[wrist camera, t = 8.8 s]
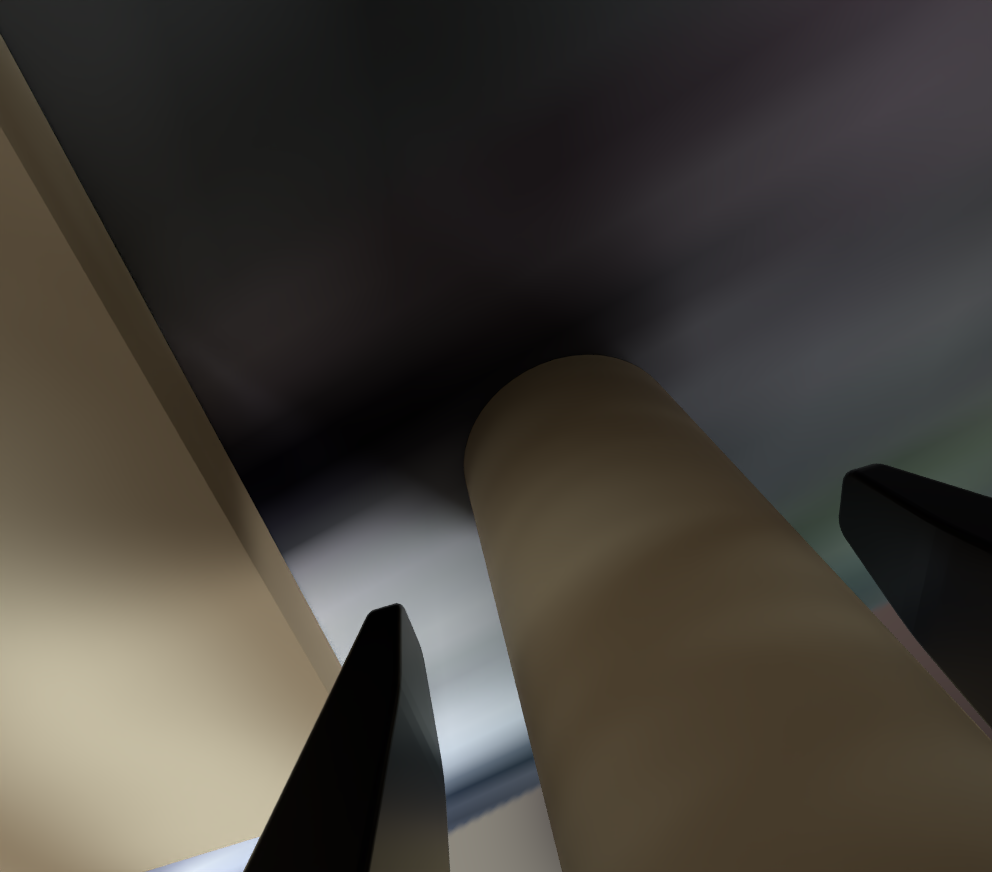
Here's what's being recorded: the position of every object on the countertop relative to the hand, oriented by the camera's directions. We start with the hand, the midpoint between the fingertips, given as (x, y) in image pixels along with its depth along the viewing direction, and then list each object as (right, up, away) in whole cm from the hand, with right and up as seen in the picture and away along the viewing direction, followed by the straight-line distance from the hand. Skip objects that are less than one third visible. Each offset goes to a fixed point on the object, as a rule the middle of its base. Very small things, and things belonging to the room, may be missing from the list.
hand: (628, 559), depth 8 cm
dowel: (0, +1, +2) cm, 2 cm away
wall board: (-14, +6, -4) cm, 15 cm away
